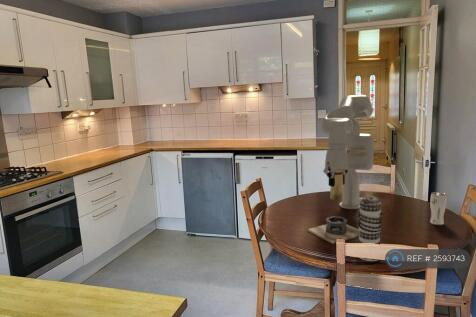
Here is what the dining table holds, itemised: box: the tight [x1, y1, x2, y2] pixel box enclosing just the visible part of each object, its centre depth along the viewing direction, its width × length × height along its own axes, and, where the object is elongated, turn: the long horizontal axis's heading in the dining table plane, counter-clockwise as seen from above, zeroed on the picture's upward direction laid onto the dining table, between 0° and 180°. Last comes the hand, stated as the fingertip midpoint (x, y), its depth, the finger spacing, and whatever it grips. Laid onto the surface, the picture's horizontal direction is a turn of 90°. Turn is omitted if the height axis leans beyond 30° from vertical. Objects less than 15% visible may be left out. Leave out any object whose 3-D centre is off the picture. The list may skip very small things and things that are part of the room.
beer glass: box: [429, 191, 447, 226], centre depth 179 cm, size 7×7×15 cm
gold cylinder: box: [329, 169, 343, 201], centre depth 169 cm, size 6×6×14 cm
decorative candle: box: [357, 195, 383, 262], centre depth 146 cm, size 9×9×25 cm
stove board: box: [307, 220, 360, 245], centre depth 173 cm, size 20×18×1 cm
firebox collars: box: [325, 215, 348, 235], centre depth 173 cm, size 9×9×6 cm
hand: (336, 184), depth 169 cm, fingers closed on gold cylinder, 5 cm apart
